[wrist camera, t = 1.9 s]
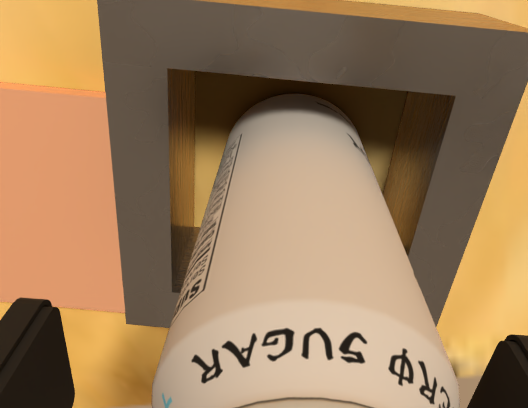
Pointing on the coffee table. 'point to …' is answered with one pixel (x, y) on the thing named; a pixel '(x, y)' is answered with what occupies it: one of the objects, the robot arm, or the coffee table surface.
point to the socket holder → (311, 70)
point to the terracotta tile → (58, 199)
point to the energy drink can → (300, 280)
